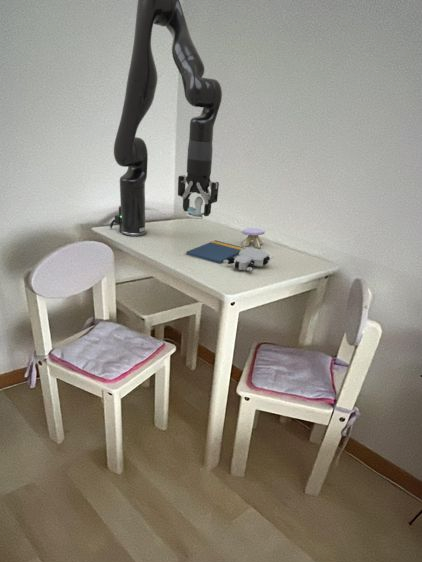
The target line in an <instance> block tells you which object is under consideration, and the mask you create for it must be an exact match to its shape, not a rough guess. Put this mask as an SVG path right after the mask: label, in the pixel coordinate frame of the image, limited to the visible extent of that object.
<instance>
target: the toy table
mask: <svg viewBox="0 0 422 562" xmlns="http://www.w3.org/2000/svg"><path fill="white" fill-rule="evenodd" d="M265 233H266V230H265V229H262V228H257V227H255V228H254V227H249V228H243V229H242V230H241V234H243V235H245V236H247V237H246V238H244V241H243V242H242V247H249V246H250V243H251V241H253V244H254V247H255V249H261V245H262V244H263V241H262V240H261V239H260V237H259V236H262V235H264V234H265Z"/></svg>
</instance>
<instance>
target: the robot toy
mask: <svg viewBox="0 0 422 562" xmlns="http://www.w3.org/2000/svg"><path fill="white" fill-rule="evenodd" d="M243 247H244V248H243V249H242V250H241V251H239V252H238V255H237V256H235V257H231V258H227V260H224V261H223V262H222V263H224V264H228V265H232V264H233V269H237V270H239V271H244V272H246V271H249V272H253V270H254V267H259V268H261V267H263V266H266V265H267V264H269V263H270V262H271V261H272V260H273V258H275V255H272V257H270V254H269V253H268V252H266V251H264V250H261V249H259V248H252V247H247V246H243Z"/></svg>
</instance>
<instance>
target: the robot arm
mask: <svg viewBox="0 0 422 562" xmlns="http://www.w3.org/2000/svg"><path fill="white" fill-rule="evenodd" d="M154 25H157V26H160V27H165V28H166V29H167V31H168V32H169V33H170V34H171V35H170V36H172V43H171V54H172V59H173V62H174V64H175V67H176V68H177V70H178V72H179V75H180V77H181V83H182V87H183V93H184V98H185V100H186V101H187V103H188V104H189V105H190V106H191V107H194V108H202V111H201V112H200V115H197V116H194V117H192V118H190V120H189V132H188V133H189V134H188V145H187V157H186V158H187V159H186V173H187V175H184V174H182V175H179V176H178V177H177V178H178V179H177V196H178V197H181V198H182V210H183V212H187V213H188V208H189V207H190V205H191V204H190V202H191V199H190V197H191V196H192V194H194V193H196V194H198V195H200V197H201V198H202V199H203V202H204V208H203V213H204V215H203V216H204V217H209V216H210V215H211V213H212V205H213V204H214V203H217V202H218V197H219V186H220V183H219V181H211V174H212V164H213V162H212V160H213V152H214V151H213V142H214V141H213V140H214V126H215V123H216V120H217V117H218V113H219V110H220V107H221V103H222V99H223V90H222V86H221V84H220V82H219V81H218V80H217V79H215V78H208V77H204V74H205V65H204V62H203V60H202V58H201V56H200V53H199V52H198V49H197V48H196V45H195V44H194V41H193V39H192V37H191V34H190V31H189V28H188V24H187V20H186V17H185V13H184V11H183V7H182V5H181V1H180V0H137V5H136V15H135V27H134V37H133V45H132V53H131V59H130V64H129V70H128V75H127V81H126V86H125V94H124V100H123V106H122V110H121V116H120V119H119V120H120V121H119V124H118V129H117V132H116V136H115V140H114V144H113V157H114V160H115V162H116V164H117V165H119V166H120V167H124V168H125V167H126V168H127V170H126V172H125V173H124V174H122V175H121V176H120V177H119V198H120V199H119V201H120V205H119V206H118V214H116V215H114V219H112V221H111V222H110V225H109V228H110V229H112V228H113V225H114V224H116V225H119V227H118V228H119V232H120V233H121V234H122V235H126V236H129V237H141V236H144V235H146V231H147V230H146V182H147V178H148V162H149V161H148V159H149V158H148V157H149V156H148V155H149V154H148V148H147V144H146V142H145V140H143V139H142V138H141V137H137V136H136V135H137V132H138V128H139V127H140V124H141V122H142V121H143V119H144V117H145V116H146V115H147V113H148V112H149V110H150V109H151V106H152V105H153V102H154V99H155V95H156V90H157V85H158V70H157V66H156V63H155V59H154V55H153V50H152V33H153V29H154V28H153V27H154ZM186 184H187V186H186Z"/></svg>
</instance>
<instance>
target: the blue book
mask: <svg viewBox="0 0 422 562" xmlns="http://www.w3.org/2000/svg"><path fill="white" fill-rule="evenodd" d="M244 247H245V246H239V245H235V244H231V243H228V242H224V241H221V240H211V241H209V242H207V243H205V244H202V245H200V246H198V247H195V248H192V249H190V250H187V251H186V255H187V256H191V257H195V258H199V259H202V260H206V261H208V262H214V263H216V264H222V263H224V262H223V261H224V260H227V258H231V257H233V258H236V257H238V252H239V251H241V250H242V249H243V248H244Z"/></svg>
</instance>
